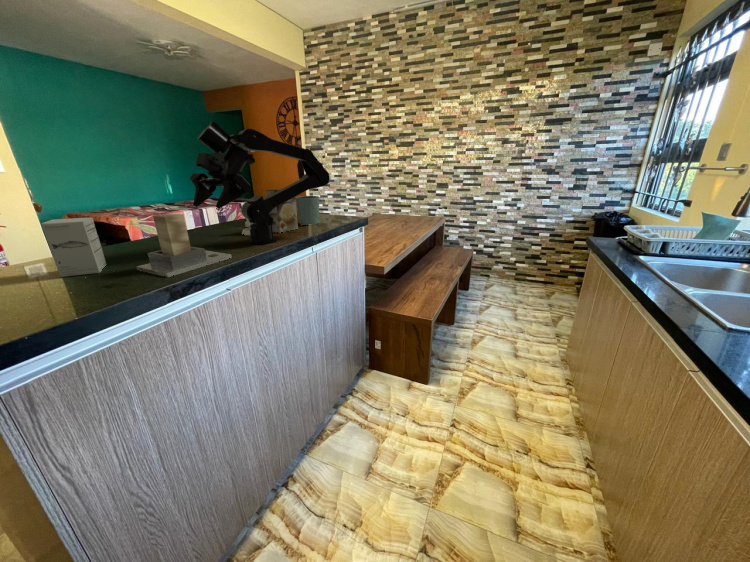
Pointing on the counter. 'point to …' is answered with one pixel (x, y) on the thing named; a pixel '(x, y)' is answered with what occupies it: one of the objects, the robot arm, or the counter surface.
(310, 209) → the grey tapered cup
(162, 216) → the square peg
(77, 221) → the supplement box
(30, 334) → the counter surface
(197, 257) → the socket plate
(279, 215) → the coffee box
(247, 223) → the hook
